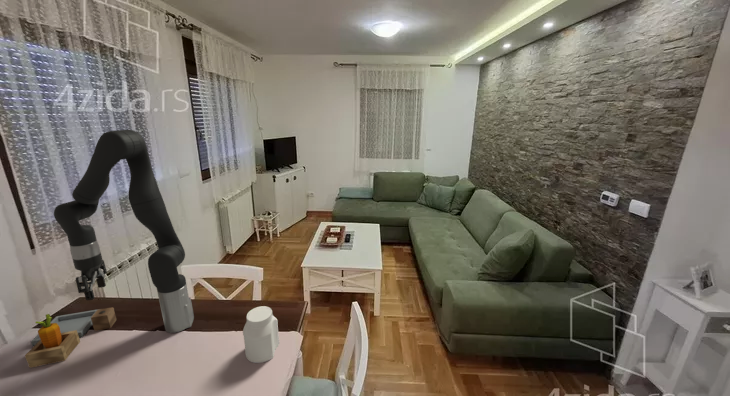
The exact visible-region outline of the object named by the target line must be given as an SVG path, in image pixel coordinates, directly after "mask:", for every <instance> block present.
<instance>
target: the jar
mask: <svg viewBox="0 0 730 396" xmlns="http://www.w3.org/2000/svg"><path fill="white" fill-rule="evenodd" d="M278 322H279V320H278V319H277V317H275V316H274V314H273V310H272V308H271V307H269V306H265V305H263V306H261V305H260V306H257V307H254V308H252V309H251V310H249V311H248V312H247V314H246V322H245V324H244V327H243V330H242V336H243V341H244V349H245V350H244V351H245V358H246V359H247V360H248V361H249V362H250V363H254V364H262V363H266V362H269V361H270V360H272V359H273V358H274V357H275V351H276V350H277V348H278V347H279V345H280V335H279V327H278V325H279V324H278Z"/></svg>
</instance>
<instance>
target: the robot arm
mask: <svg viewBox="0 0 730 396" xmlns="http://www.w3.org/2000/svg"><path fill="white" fill-rule="evenodd" d="M148 151H149V150H148V147H147V143H146V141H145V139H144V137H142V135H141V134H140V133H139V132H138V131H136V130H134V129H121V130H120V129H118V130H108V131H106V132H104V133H102V134H101V135H100V136H99V138H98V141H97V143H96V145H95V148H94V151H93V154H92V156H91V158H90V161H89V162H88V163H89V164H88V167H87V169H86V171H85V173H84V174H83V176H82V178H80V180H79V182H78V183H77V185H76V186H75V187H74V189H73V191H72V194H71V195H72V198H73V200H72V201H68V202H64V203H60V204H59V205H57V206H56V207H55V208H54V211H53V217H54V219H55V220H56V222H57V224H58V225H59V226H60V227H61V229H62V231H64V233H65V235H66V236H67V240H68V244H69V251H70V255H71V259H72V262H73V267H74V269H75V270H77V271H80V276H77V277H75V282H76V283H75V284H76V287H77V288H76V289H77V291H78V294H83V293H84V298H85V300H86V301H92V300H94V299H95V294H94V290H93V286H94V284H95V283H96V284H97V287H98V288H99V289H100V288H101V289H102V288H105V287H106V286H107V283H106V281H105V277H106V274H107V273H108V271H107V267H106V264H105V260H104V259H103V255H102V251H101V249H100V248H101V247H100V244H99V242H98V240H97V235H96V232H95V229H94V226H92V225H88V224H83V225H81V223H80V221H82V220H86V219H88V218H91V217H92V216H93V215H95V213H96V212H97V210H98V207H99V201H100V199H101V198H102V196H103V195H104V194H105V192H106V191H107V189H108V187H109V185H110V181H111V180H110V174H111V171H112V169H113V168H114V166H116V164H118V163H119V162H120V161H122V160H126V163H127V165H128V168H129V173H130V180H129V181H130V182H129V187H128V195H127V197H128V202H129V205H130V207H131V210H132V212H133V214H134V217H135V218H136V219H137V220H138V222H139V223H140V224H141V225H143V226H144V227H145V228H146V229H147V230H149V231H150V233H152V235H153V237H154V239H155V241H156V244H157V247H158V249H156V250H155V251H154V252H152V253H151V255H149V257H148V260H147V266H148V267H147V268H148V270H149V275H150V278H151V281H152V284H153V286H154V287H155V288H156V290H157V296H158V302H159V305H160V310H161V316H162V319H163V325H164V330H165V332H166V333H170V334H174V333H179V332H181V331H184V330H185V329H188V328H192V325H193V322H194V319H195V315H194V309H193V304H192V298H191V297H189V292H188V284H187V280H186V277H185V275H184V274H179V271H178V267H179V266H180V265H181V264H182V263H183V262H184V260H185V258H186V252H185V248H184V247H183V244H182V242H181V240H180V238H179V237H178V234H177V233H176V230H175V229H174V226H173V224H172V220H171V218H170V214H169V213H168V210H167V206H166V204H165V201H164V198H163V195H162V193H161V191H160V189H159V185H158V183H157V182H158V181H157V180H156V176H155V174H154V170H153V168H152V163H151V160H150V159H151V158H150V156H149V152H148Z"/></svg>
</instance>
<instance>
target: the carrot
mask: <svg viewBox="0 0 730 396" xmlns="http://www.w3.org/2000/svg"><path fill="white" fill-rule="evenodd" d="M45 318H46V320H45V321H38V320H37V321H35V324H39V325H41V326H42V327H40V328H39V329H38V330H37V335H38V334H39V337H40V339H41V342H42V343H43V345H44V346H45V348H46V349H48V348H53V347H58V346H59V345H60V344H61V342H62V337H61V331H60V327H59V325H58V324H57V323H51V321H52V316H51V314H50V313H47V314H45Z"/></svg>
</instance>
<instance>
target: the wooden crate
mask: <svg viewBox="0 0 730 396" xmlns="http://www.w3.org/2000/svg"><path fill="white" fill-rule="evenodd" d="M61 337H62V342H61V344H60V345H59V346H58V347H53V348H48V349H46V348H45V346H44V345H43V343H42V342H41V340H40V341H39V342H38V343H37V344H36V345H35V346H32V347H31V348H30V350H29V351H28V352H26V353H25V355H24V358H25V360H26V362H27V365H28V367H29V369H30V368H31V369H32V368H36V367H40V366H45V365H51V364H56V363H60V362H65V361H66V360H67V359H68V357H70V355H71V354H72V352H73V351H74V350H75V348H77V347H78V345H79V344H80V343H81V339H80V338H79V336H78V333H77V330H75V331H69V332H64V333H61Z"/></svg>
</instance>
